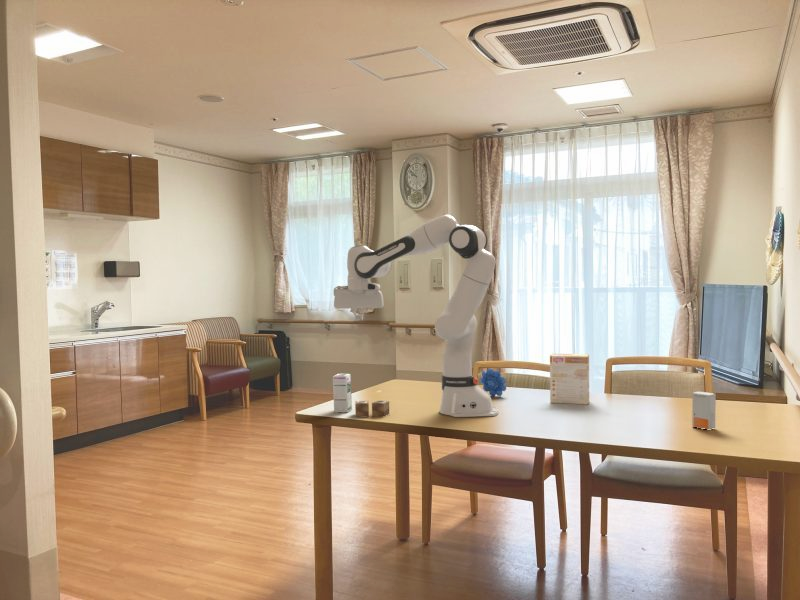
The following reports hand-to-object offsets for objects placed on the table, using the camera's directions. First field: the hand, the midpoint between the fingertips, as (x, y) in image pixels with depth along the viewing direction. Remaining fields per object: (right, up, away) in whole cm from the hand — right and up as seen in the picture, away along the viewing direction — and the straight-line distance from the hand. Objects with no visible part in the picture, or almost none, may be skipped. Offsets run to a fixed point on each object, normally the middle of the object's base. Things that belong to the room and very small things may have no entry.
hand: (359, 319), depth 265 cm
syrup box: (-6, -36, -10) cm, 38 cm away
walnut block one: (+2, -36, -18) cm, 40 cm away
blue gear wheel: (+57, -34, +15) cm, 68 cm away
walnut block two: (+9, -36, -18) cm, 41 cm away
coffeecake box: (+86, -34, 0) cm, 93 cm away
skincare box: (+119, -35, -47) cm, 132 cm away
